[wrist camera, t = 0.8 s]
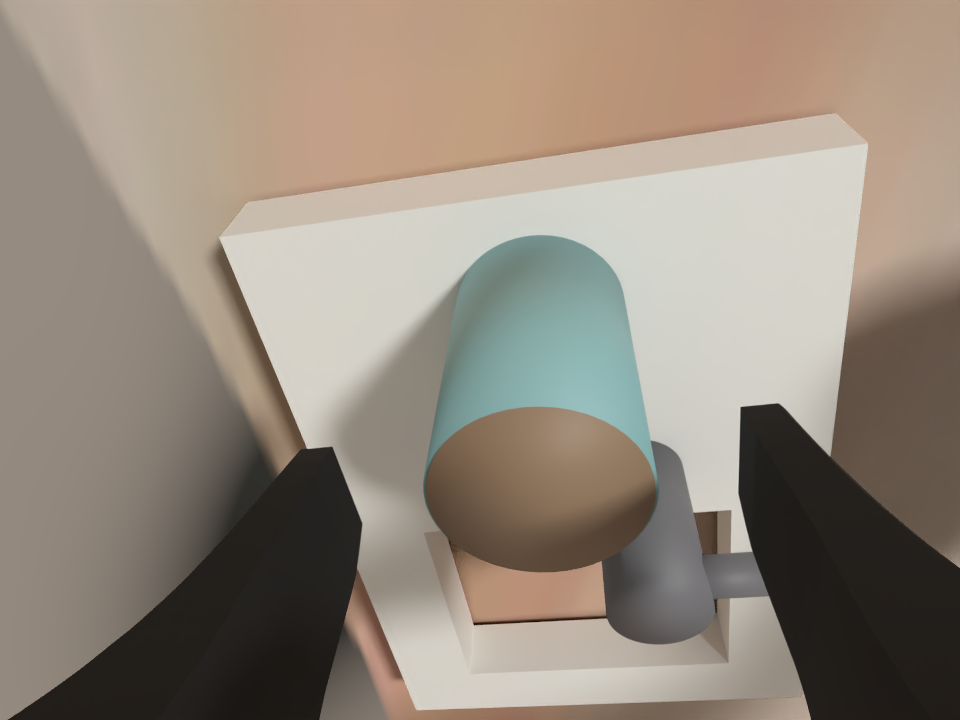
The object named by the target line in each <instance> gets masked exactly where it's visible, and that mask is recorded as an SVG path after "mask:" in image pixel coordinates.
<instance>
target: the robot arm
mask: <svg viewBox="0 0 960 720" xmlns="http://www.w3.org/2000/svg"><path fill="white" fill-rule="evenodd" d="M738 495H739V499H740V503H741V508H742V512H743V516H744V521H745V525H746V529H747V533H748V537H749V541H750V545H751V549H752V551H753V554H754V557H755V560H756V562H757V565H758V568H759V571H760V573H761V576H762V579H763V581H764V584H765V587H766V590H767V592H768V595H769V598H770V600H771V603H772V606H773V608H774V611H775V614H776V616H777V619H778V622H779V624H780V627H781V630H782V632H783V635H784V638H785V640H786V643H787V646H788V648H789V651H790V654H791V656H792V659H793V662H794V664H795V667H796V670H797V673H798V676H799V679H800V682H801V685H802V688H803V691H804V694H805V698H806V701H807V705H808V709H809V713H810V716H811V720H960V568H959V567H958V566H956V565H955V564H953V563H952V562H951V561H949V560H948V559H947V558H945V557H944V556H943V555H941V554H940V553H939V552H937V551H936V550H935V549H934V548H932V547H931V546H930V545H928V544H927V543H926V542H925V541H923V540H922V539H921V538H920V537H918V536H917V535H916V534H915V533H913V532H912V531H911V530H910V529H909V528H907V527H906V526H905V525H904V524H903V523H902V522H900V521H899V520H898V519H897V518H896V517H894V516H893V515H892V514H891V513H890V512H889V511H887V510H886V509H885V508H884V507H883V506H882V505H881V504H880V503H878V502H877V501H876V500H875V499H874V498H873V497H872V496H871V495H870V494H868V493H867V492H866V491H865V490H864V489H863V488H862V487H861V486H860V485H859V484H858V483H857V482H856V481H855V480H854V479H853V478H852V477H850V476H849V475H848V474H847V473H846V472H845V471H844V470H843V469H842V468H841V467H840V466H839V465H838V464H837V463H836V462H835V461H834V460H833V459H832V458H831V457H830V456H829V455H828V454H827V453H826V452H825V451H824V450H823V449H822V448H821V447H820V446H819V445H818V444H817V443H816V442H815V440H814V439H813V438H812V437H811V436H810V435H809V434H808V433H807V432H806V431H805V430H804V429H803V428H802V427H801V425H800V424H799V423H798V422H797V421H796V420H795V419H794V418H793V417H792V415H791V414H790V413H789V412H788V411H787V410H786V409H785V408H784V407H783V406H782V405H780V404H779V403H775V404H764V405H754V406H744V407H740V445H739V483H738ZM361 532H362V521H361V518H360V516H359V513H358V511H357V508H356V506H355V503H354V500H353V498H352V495H351V493H350V490H349V488H348V485H347V483H346V480H345V477H344V475H343V472H342V470H341V467H340V465H339V462H338V460H337V457H336V454H335V452H334V449H333V447H322V448H312V449H301V450H300V451H299V452H298V454H297V455H296V456H295V457H294V458H293V459H292V460H291V461H290V463H289V464H288V465H287V466H286V467H285V468H284V470H283V471H282V472H281V473H280V474H279V476H278V477H277V478H276V479H275V480H274V481H273V483H272V484H271V485H270V486H269V487H268V489H267V490H266V491H265V492H264V493H263V495H262V496H261V497H260V498H259V499H258V500H257V502H256V503H255V504H254V505H253V506H252V507H251V508H250V510H249V511H248V512H247V513H246V514H245V515H244V517H243V518H242V519H241V520H240V521H239V522H238V523H237V525H236V526H235V527H234V528H233V529H232V530H231V531H230V533H229V534H228V535H227V536H226V537H225V538H224V539H223V540H222V541H221V542H220V543H219V544H218V545H217V546H216V547H215V549H214V550H213V551H212V552H211V553H210V554H209V555H208V556H207V557H206V558H205V559H204V560H203V561H202V562H201V563H200V564H199V565H198V566H197V568H196V569H195V570H194V571H193V572H192V573H191V574H190V575H189V576H188V577H187V578H186V579H185V580H184V581H183V582H182V583H181V584H180V585H179V586H178V587H177V588H176V589H175V590H174V591H172V592H171V593H170V594H169V595H168V596H167V597H166V598H165V599H164V600H163V601H162V602H161V603H160V604H159V605H157V606H156V607H155V608H154V609H153V610H152V611H151V612H150V613H148V614H147V615H146V616H145V617H144V618H143V619H142V620H141V621H140V622H138V623H137V624H136V625H135V626H134V627H133V628H131V629H130V630H129V631H128V632H127V633H125V634H124V635H123V636H121V637H120V638H119V639H118V640H116V641H115V642H114V643H113V644H111V645H110V646H109V647H108V648H106V649H105V650H104V651H103V652H101V653H100V654H99V655H98V656H96V657H95V658H94V659H93V660H91V661H90V662H89V663H88V664H86V665H85V666H84V667H83V668H81V669H80V670H79V671H77V672H76V673H75V674H73V675H72V676H70V677H69V678H68V679H66V680H65V681H64V682H62V683H61V684H59V685H58V686H57V687H55V688H54V689H52V690H51V691H50V692H48V693H47V694H45V695H44V696H42V697H41V698H40V699H38V700H37V701H35V702H34V703H32V704H31V705H29V706H28V707H26V708H25V709H24V710H22V711H21V712H19V713H18V714H16V715H14V716H13V717H11V718H10V719H8V720H319V718H320V713H321V708H322V704H323V699H324V695H325V690H326V686H327V683H328V679H329V675H330V672H331V668H332V664H333V660H334V656H335V653H336V649H337V645H338V642H339V638H340V634H341V630H342V627H343V623H344V620H345V616H346V612H347V608H348V604H349V600H350V597H351V593H352V589H353V585H354V581H355V577H356V571H357V564H358V557H359V550H360V541H361Z"/></svg>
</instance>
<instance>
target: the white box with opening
mask: <svg viewBox="0 0 960 720" xmlns="http://www.w3.org/2000/svg"><path fill="white" fill-rule="evenodd" d="M867 150H868V143H867V142H866V141H865V140H864V139H863V138H862V137H861V136H860V135H859V134H858V133H856V132H855V131H854V130H853V129H852V128H851V127H850V126H849V125H848V124H847V123H846V122H844V121H843V120H842V119H841V118H840V117H839V116H838V115H837V114H836V113H833V114H827V115H820V116H813V117H807V118H800V119H794V120H787V121H780V122H774V123H767V124H761V125H754V126H748V127H741V128H734V129H728V130H721V131H715V132H708V133H701V134H695V135H688V136H682V137H675V138H668V139H662V140H655V141H649V142H642V143H636V144H629V145H622V146H616V147H609V148H603V149H596V150H589V151H583V152H576V153H570V154H563V155H557V156H550V157H543V158H537V159H530V160H524V161H517V162H510V163H504V164H497V165H491V166H484V167H478V168H471V169H464V170H458V171H451V172H445V173H438V174H431V175H425V176H418V177H412V178H405V179H398V180H392V181H385V182H379V183H372V184H366V185H359V186H352V187H346V188H339V189H333V190H326V191H319V192H313V193H306V194H300V195H293V196H287V197H280V198H273V199H267V200H260V201H254V202H247V204H246V205H245V206H244V207H243V209H242V210H241V211H240V212H239V213H238V215H237V216H236V217H235V218H234V220H233V221H232V222H231V223H230V225H229V226H228V227H227V228H226V230H225V231H224V232H223V233H222V234H221V236H220V237H219V238H220V241H221V243H222V246H223V248H224V250H225V253H226V255H227V258H228V260H229V262H230V265H231V267H232V270H233V272H234V274H235V277H236V279H237V282H238V284H239V286H240V289H241V291H242V293H243V296H244V298H245V301H246V303H247V305H248V308H249V310H250V313H251V315H252V317H253V320H254V322H255V325H256V327H257V329H258V332H259V334H260V337H261V339H262V341H263V344H264V346H265V349H266V351H267V353H268V356H269V358H270V361H271V363H272V365H273V368H274V370H275V373H276V375H277V377H278V380H279V382H280V385H281V387H282V389H283V392H284V394H285V396H286V399H287V401H288V404H289V406H290V408H291V411H292V413H293V416H294V418H295V420H296V423H297V425H298V428H299V430H300V432H301V435H302V437H303V440H304V442H305V444H306V447H307V449H312V448H322V447H333V449H334V452H335V454H336V457H337V460H338V462H339V465H340V467H341V470H342V472H343V475H344V477H345V480H346V483H347V485H348V488H349V490H350V493H351V495H352V498H353V500H354V503H355V506H356V508H357V511H358V513H359V516H360V518H361V521H362V532H361V541H360V550H359V557H358V564H357V569H358V571H359V574H360V576H361V578H362V581H363V583H364V586H365V588H366V590H367V593H368V595H369V598H370V600H371V602H372V605H373V607H374V610H375V612H376V614H377V617H378V619H379V622H380V624H381V626H382V629H383V631H384V634H385V636H386V638H387V641H388V643H389V646H390V648H391V650H392V653H393V655H394V658H395V660H396V662H397V665H398V667H399V670H400V672H401V674H402V677H403V679H404V681H405V684H406V686H407V689H408V691H409V693H410V696H411V698H412V701H413V703H414V705H415V708H416V710H437V709H466V708H496V707H525V706H555V705H584V704H613V703H643V702H672V701H702V700H731V699H761V698H790V697H801V696H802V685H801V682H800V679H799V676H798V673H797V670H796V667H795V664H794V662H793V659H792V656H791V654H790V651H789V648H788V646H787V643H786V640H785V638H784V635H783V632H782V630H781V627H780V624H779V622H778V619H777V616H776V614H775V611H774V608H773V606H772V603H771V600H770V598H769V595H768V592H767V590H766V587H765V584H764V581H763V579H762V576H761V573H760V571H759V568H758V565H757V562H756V560H755V557H754V554H753V551H752V549H751V545H750V541H749V537H748V533H747V529H746V525H745V521H744V516H743V512H742V508H741V503H740V499H739V495H738V483H739V445H740V407H744V406H754V405H764V404H775V403H779V404H780V405H782V406H783V407H784V408H785V409H786V410H787V411H788V412H789V413H790V414H791V415H792V417H793V418H794V419H795V420H796V421H797V422H798V423H799V424H800V425H801V427H802V428H803V429H804V430H805V431H806V432H807V433H808V434H809V435H810V436H811V437H812V438H813V439H814V440H815V442H816V443H817V444H818V445H819V446H820V447H821V448H822V449H823V450H824V451H825V452H826V453H827V454H828V455H829V456H831V448H832V440H833V431H834V423H835V415H836V406H837V398H838V390H839V382H840V373H841V365H842V357H843V349H844V340H845V332H846V324H847V315H848V307H849V299H850V291H851V282H852V274H853V266H854V258H855V249H856V241H857V233H858V225H859V216H860V208H861V200H862V191H863V183H864V175H865V167H866V158H867ZM532 235H551V236H557V237H563V238H567V239H570V240H573V241H576V242H578V243H580V244H583V245H585V246H587V247H588V248H590V249H592V250H593V251H595V252H596V253H597V254H598V255H600V256H601V257H602V258H603V259H604V260H605V261H606V262H607V263H608V264H609V265H610V266H611V268H612V269H613V271H614V272H615V274H616V275H617V277H618V279H619V281H620V283H621V287H622V290H623V293H624V298H625V304H626V309H627V315H628V320H629V326H630V331H631V336H632V342H633V347H634V353H635V358H636V364H637V369H638V374H639V380H640V385H641V391H642V396H643V402H644V407H645V412H646V418H647V423H648V429H649V434H650V440H651V445H652V450H653V456H654V461H655V467H656V472H657V478H658V485H659V493H658V501H657V506H656V509H655V512H654V514H653V516H652V519H651V520H650V522H649V523H648V525H647V527H646V528H645V529H644V531H643V532H642V533H641V534H640V535H639V536H638V537H637V538H636V539H635V540H634V541H633V542H632V543H631V544H630V545H628V546H627V547H625V548H624V549H623V550H621V551H620V552H618V553H616V554H614V555H612V556H611V557H609V558H607V559H605V560H602V569H603V581H604V592H605V604H606V616H607V619H589V620H569V621H550V622H531V623H512V624H493V625H473V621H472V618H471V615H470V612H469V608H468V605H467V602H466V598H465V595H464V592H463V588H462V585H461V582H460V578H459V575H458V572H457V568H456V565H455V562H454V558H453V555H452V552H451V548H450V545H449V542H448V538H447V537H446V536H445V535H444V534H443V533H442V531H441V530H440V529H439V528H438V527H437V525H436V524H435V522H434V521H433V519H432V517H431V516H430V514H429V511H428V509H427V506H426V503H425V499H424V494H423V480H424V473H425V467H426V462H427V457H428V451H429V446H430V440H431V435H432V429H433V424H434V418H435V413H436V407H437V402H438V396H439V391H440V386H441V380H442V375H443V369H444V364H445V358H446V353H447V347H448V342H449V336H450V331H451V326H452V320H453V315H454V309H455V304H456V298H457V293H458V290H459V287H460V284H461V282H462V280H463V278H464V276H465V274H466V273H467V271H468V270H469V268H470V267H471V266H472V265H473V264H474V262H475V261H476V260H477V259H478V258H480V257H481V256H482V255H483V254H484V253H486V252H487V251H489V250H490V249H492V248H493V247H495V246H497V245H499V244H501V243H503V242H506V241H509V240H512V239H515V238H519V237H524V236H532ZM710 511H717V554H708V555H703V552H702V547H701V543H700V539H699V534H698V530H697V526H696V521H695V517H694V513H697V512H710ZM713 599H717V613H715V604H714V600H713Z"/></svg>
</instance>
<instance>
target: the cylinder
mask: <svg viewBox="0 0 960 720" xmlns="http://www.w3.org/2000/svg"><path fill="white" fill-rule="evenodd" d="M658 493H659V485H658V478H657V472H656V467H655V461H654V456H653V450H652V445H651V440H650V434H649V429H648V423H647V418H646V412H645V407H644V402H643V396H642V391H641V385H640V380H639V374H638V369H637V364H636V358H635V353H634V347H633V342H632V336H631V331H630V326H629V320H628V315H627V309H626V304H625V298H624V293H623V290H622V287H621V283H620V281H619V279H618V277H617V275H616V274H615V272H614V271H613V269H612V268H611V266H610V265H609V264H608V263H607V262H606V261H605V260H604V259H603V258H602V257H601V256H600V255H598V254H597V253H596V252H595V251H593V250H592V249H590V248H588V247H587V246H585V245H583V244H580V243H578V242H576V241H573V240H570V239H567V238H563V237H557V236H551V235H532V236H524V237H519V238H515V239H512V240H509V241H506V242H503V243H501V244H499V245H497V246H495V247H493V248H492V249H490V250H489V251H487V252H486V253H484V254H483V255H482V256H481V257H480V258H478V259H477V260H476V261H475V262H474V264H473V265H472V266H471V267H470V268H469V270H468V271H467V273H466V274H465V276H464V278H463V280H462V282H461V284H460V287H459V290H458V293H457V298H456V304H455V309H454V315H453V320H452V326H451V331H450V336H449V342H448V347H447V353H446V358H445V364H444V369H443V375H442V380H441V386H440V391H439V396H438V402H437V407H436V413H435V418H434V424H433V429H432V435H431V440H430V446H429V451H428V457H427V462H426V467H425V473H424V480H423V494H424V499H425V503H426V506H427V509H428V511H429V514H430V516H431V517H432V519H433V521H434V522H435V524H436V525H437V527H438V528H439V529H440V530H441V531H442V533H443V534H444V535H445V536H446V537H447V538H449V539H450V540H451V541H452V542H453V543H454V544H456V545H457V546H458V547H460V548H461V549H463V550H464V551H466V552H468V553H469V554H471V555H473V556H475V557H477V558H479V559H481V560H484V561H486V562H488V563H491V564H494V565H497V566H501V567H505V568H509V569H513V570H520V571H528V572H558V571H567V570H572V569H577V568H582V567H585V566H589V565H592V564H595V563H597V562H600V561H602V560H605V559H607V558H609V557H611V556H612V555H614V554H616V553H618V552H620V551H621V550H623V549H624V548H625V547H627V546H628V545H630V544H631V543H632V542H633V541H634V540H635V539H636V538H637V537H638V536H639V535H640V534H641V533H642V532H643V531H644V529H645V528H646V527H647V525H648V523H649V522H650V520H651V519H652V516H653V514H654V512H655V509H656V506H657V501H658Z"/></svg>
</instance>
